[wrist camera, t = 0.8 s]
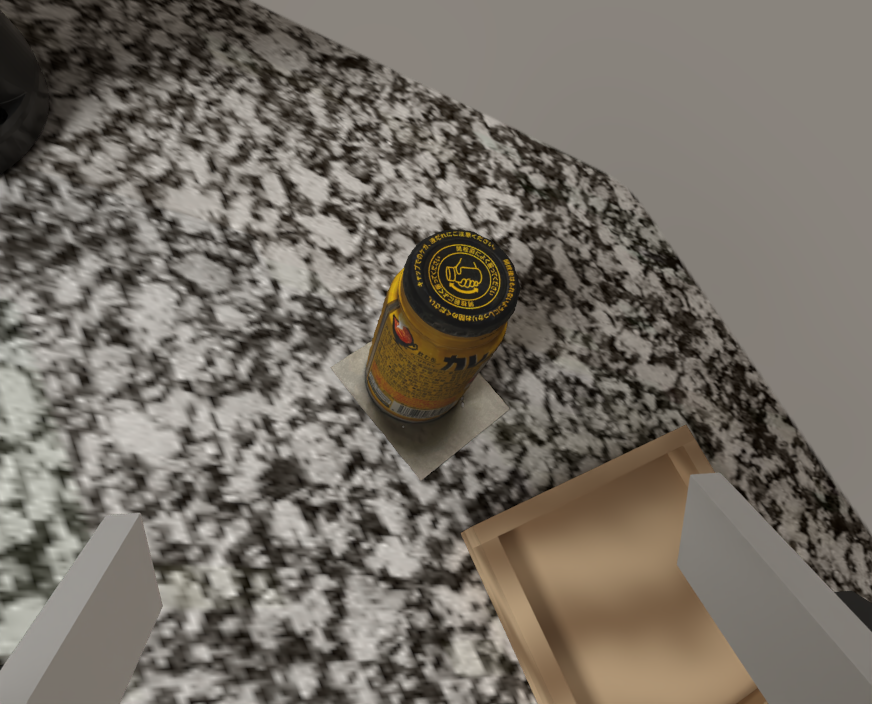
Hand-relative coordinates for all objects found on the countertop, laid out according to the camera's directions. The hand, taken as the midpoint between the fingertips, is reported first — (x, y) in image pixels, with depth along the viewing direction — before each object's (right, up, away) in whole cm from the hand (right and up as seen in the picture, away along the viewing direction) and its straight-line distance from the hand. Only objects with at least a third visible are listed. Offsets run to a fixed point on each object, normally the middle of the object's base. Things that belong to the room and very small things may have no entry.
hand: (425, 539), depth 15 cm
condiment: (-1, +2, +22) cm, 22 cm away
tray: (+11, -10, +20) cm, 25 cm away
